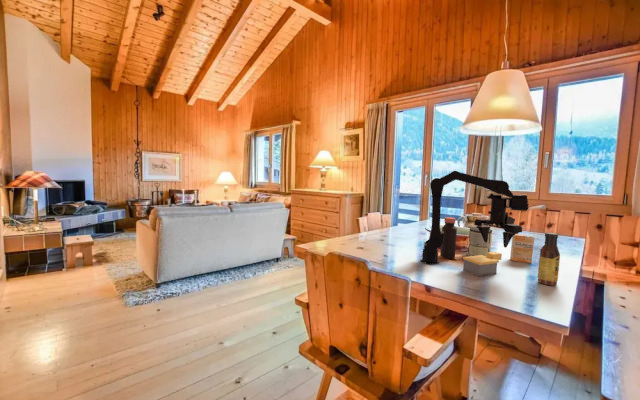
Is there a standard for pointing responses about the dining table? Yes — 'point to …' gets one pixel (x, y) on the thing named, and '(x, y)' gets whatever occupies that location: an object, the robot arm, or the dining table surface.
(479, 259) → the lid
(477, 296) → the dining table surface
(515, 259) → the supplement box
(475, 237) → the coffee can
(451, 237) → the vinegar
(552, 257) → the sauce bottle
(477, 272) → the tub
